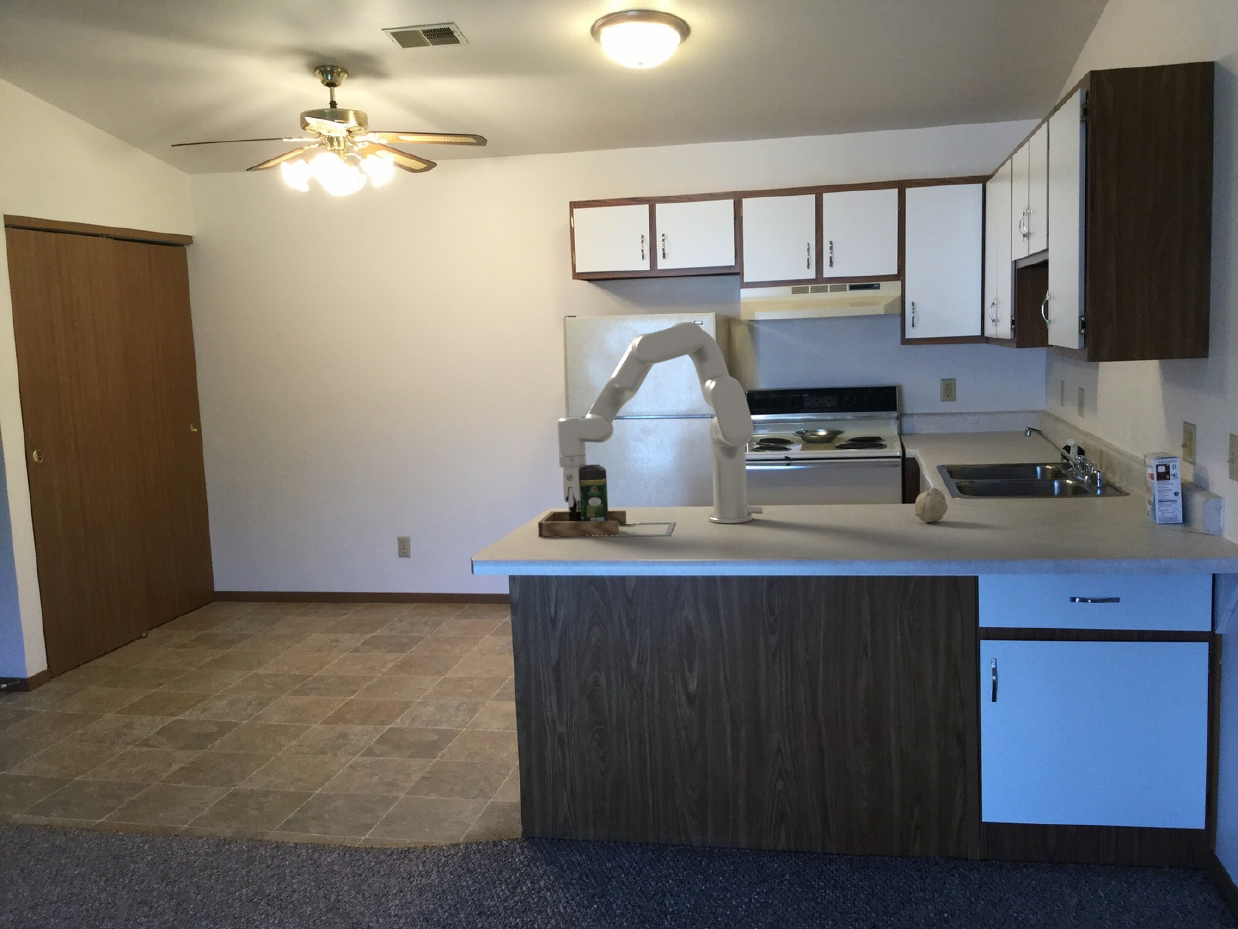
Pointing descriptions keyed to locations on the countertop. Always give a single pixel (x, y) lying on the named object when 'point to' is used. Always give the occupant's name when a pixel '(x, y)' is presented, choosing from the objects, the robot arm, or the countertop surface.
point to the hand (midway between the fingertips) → (575, 525)
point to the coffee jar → (594, 493)
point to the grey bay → (668, 533)
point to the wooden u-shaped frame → (580, 525)
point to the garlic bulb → (931, 505)
